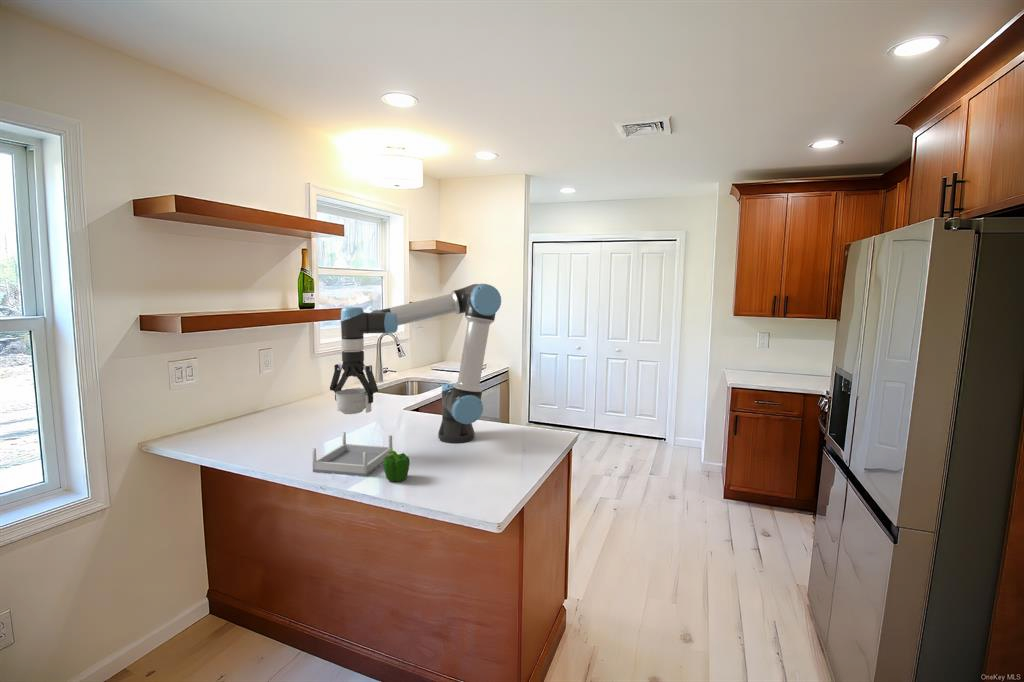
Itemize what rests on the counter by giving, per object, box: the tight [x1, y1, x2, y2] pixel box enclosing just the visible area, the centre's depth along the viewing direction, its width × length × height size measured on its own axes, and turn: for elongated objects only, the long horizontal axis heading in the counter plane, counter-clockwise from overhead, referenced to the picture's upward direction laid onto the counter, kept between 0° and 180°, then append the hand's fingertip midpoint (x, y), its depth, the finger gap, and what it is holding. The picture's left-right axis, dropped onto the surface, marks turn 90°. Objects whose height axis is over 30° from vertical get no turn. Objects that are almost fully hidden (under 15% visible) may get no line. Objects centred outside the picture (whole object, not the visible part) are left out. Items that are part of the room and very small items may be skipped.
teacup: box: [334, 387, 367, 415], centre depth 179 cm, size 14×11×8 cm
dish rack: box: [311, 431, 394, 477], centre depth 177 cm, size 20×20×8 cm
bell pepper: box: [383, 450, 411, 482], centre depth 163 cm, size 8×8×10 cm
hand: (354, 410), depth 180 cm, fingers closed on teacup, 11 cm apart
